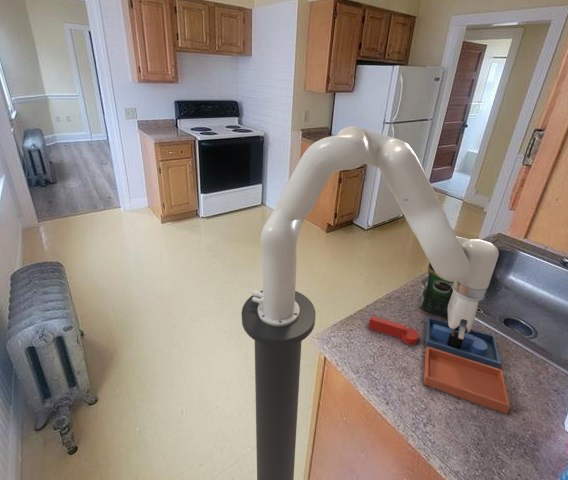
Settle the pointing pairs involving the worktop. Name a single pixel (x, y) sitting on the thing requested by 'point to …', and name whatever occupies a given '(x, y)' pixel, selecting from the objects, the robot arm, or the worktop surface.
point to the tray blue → (488, 358)
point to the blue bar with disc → (468, 342)
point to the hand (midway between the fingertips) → (453, 340)
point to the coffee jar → (436, 294)
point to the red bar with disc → (394, 329)
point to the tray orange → (466, 379)
